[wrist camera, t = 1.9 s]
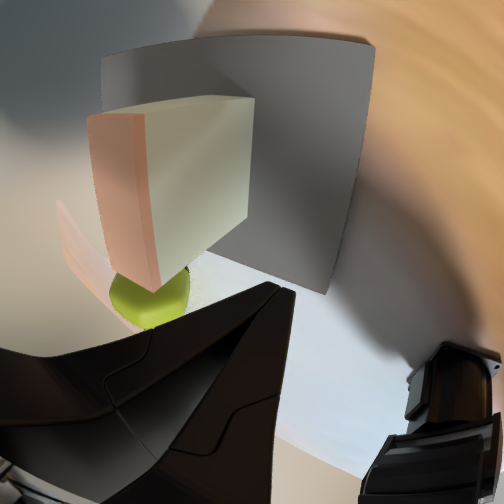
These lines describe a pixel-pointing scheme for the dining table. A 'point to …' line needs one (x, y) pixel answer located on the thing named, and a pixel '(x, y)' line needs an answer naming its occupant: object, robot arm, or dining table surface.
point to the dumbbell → (150, 300)
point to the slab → (170, 180)
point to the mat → (271, 135)
